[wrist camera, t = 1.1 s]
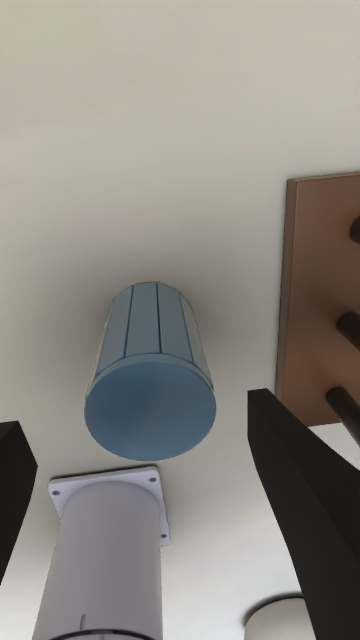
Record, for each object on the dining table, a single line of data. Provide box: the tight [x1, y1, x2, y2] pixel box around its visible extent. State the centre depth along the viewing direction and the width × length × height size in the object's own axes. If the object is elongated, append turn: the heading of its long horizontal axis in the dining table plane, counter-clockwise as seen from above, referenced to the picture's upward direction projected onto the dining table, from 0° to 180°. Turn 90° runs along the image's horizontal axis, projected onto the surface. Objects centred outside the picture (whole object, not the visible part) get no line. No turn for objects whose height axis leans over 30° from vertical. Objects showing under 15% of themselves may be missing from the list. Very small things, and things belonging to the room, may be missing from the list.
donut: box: [244, 598, 316, 640], centre depth 35 cm, size 10×4×10 cm
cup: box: [84, 282, 216, 461], centre depth 15 cm, size 5×5×8 cm
